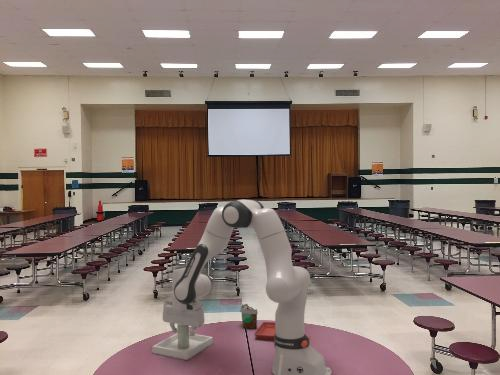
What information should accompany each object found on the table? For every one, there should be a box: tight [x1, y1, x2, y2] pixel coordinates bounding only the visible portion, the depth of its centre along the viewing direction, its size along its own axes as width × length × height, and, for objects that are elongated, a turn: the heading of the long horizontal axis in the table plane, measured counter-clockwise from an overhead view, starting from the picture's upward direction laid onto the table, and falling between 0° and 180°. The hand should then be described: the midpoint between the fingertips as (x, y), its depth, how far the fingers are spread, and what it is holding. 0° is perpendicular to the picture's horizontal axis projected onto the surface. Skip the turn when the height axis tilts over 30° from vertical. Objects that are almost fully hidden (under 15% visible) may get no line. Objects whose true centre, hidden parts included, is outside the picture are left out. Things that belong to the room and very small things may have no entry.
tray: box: [151, 332, 214, 361], centre depth 189 cm, size 18×20×3 cm
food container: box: [239, 303, 258, 330], centre depth 216 cm, size 12×6×10 cm, turn 25°
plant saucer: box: [253, 321, 275, 341], centre depth 204 cm, size 18×18×3 cm
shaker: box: [176, 322, 190, 349], centre depth 189 cm, size 5×5×12 cm
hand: (183, 334), depth 189 cm, fingers open, 8 cm apart
